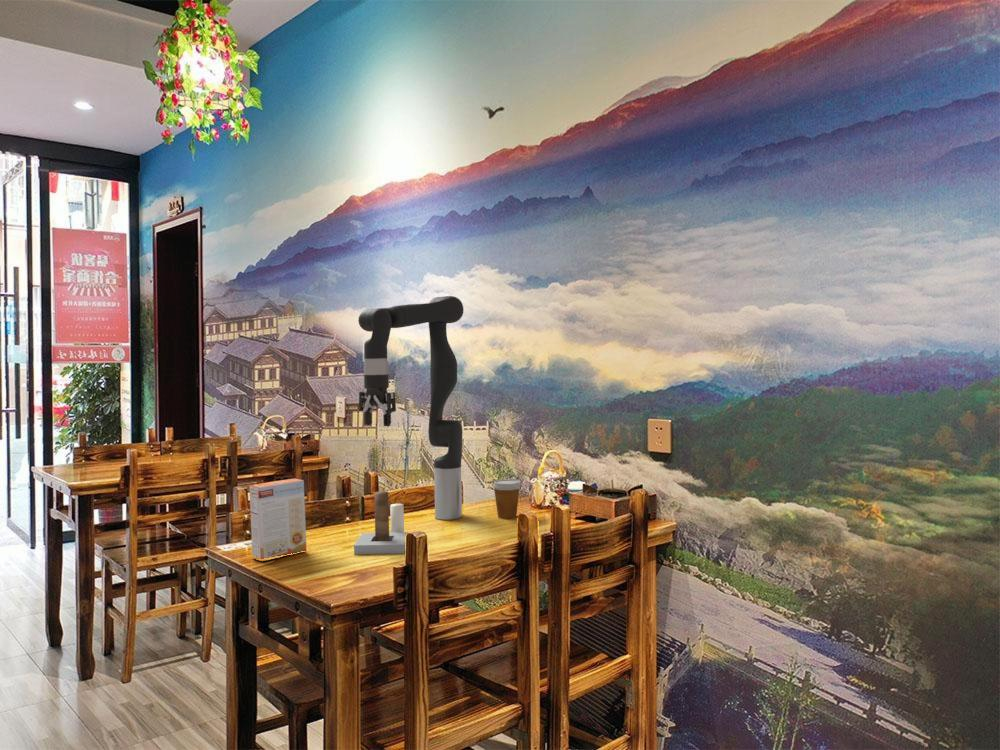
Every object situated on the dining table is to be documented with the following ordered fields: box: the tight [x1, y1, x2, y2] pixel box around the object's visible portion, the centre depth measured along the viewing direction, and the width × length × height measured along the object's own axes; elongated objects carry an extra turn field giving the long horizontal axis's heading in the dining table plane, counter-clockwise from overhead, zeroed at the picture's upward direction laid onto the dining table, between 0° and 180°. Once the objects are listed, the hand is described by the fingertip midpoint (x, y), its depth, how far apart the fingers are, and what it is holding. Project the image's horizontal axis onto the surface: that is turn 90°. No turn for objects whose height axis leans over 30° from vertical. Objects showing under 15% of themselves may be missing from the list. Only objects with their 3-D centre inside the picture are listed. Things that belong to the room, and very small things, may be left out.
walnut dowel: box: [373, 490, 390, 541], centre depth 214 cm, size 4×4×16 cm
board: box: [353, 531, 408, 555], centre depth 214 cm, size 14×14×2 cm
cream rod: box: [389, 503, 405, 533], centre depth 225 cm, size 4×4×10 cm
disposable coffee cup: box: [492, 479, 521, 520], centre depth 250 cm, size 10×10×12 cm
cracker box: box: [249, 478, 307, 559], centre depth 206 cm, size 14×6×21 cm, turn 134°
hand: (377, 425), depth 228 cm, fingers open, 8 cm apart
